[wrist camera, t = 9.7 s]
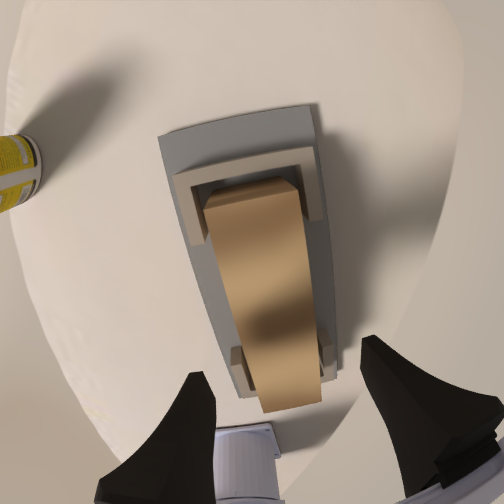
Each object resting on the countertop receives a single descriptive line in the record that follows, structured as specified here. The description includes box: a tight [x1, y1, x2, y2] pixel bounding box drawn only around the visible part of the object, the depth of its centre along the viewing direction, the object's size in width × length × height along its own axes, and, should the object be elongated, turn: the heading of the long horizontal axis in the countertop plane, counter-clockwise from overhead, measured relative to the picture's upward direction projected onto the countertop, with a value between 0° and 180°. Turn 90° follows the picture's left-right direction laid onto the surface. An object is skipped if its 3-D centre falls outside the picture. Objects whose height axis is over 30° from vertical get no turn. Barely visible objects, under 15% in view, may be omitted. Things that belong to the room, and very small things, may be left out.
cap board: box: [158, 105, 337, 398], centre depth 18 cm, size 22×9×3 cm, turn 11°
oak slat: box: [203, 176, 322, 413], centre depth 16 cm, size 14×4×5 cm, turn 12°
